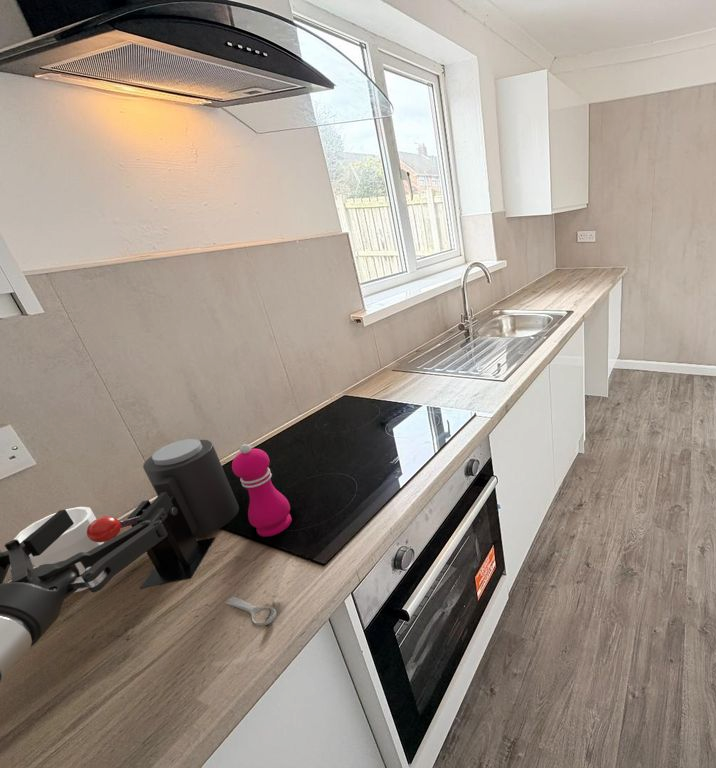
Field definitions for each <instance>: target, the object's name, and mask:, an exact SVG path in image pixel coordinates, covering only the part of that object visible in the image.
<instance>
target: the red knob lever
mask: <svg viewBox="0 0 716 768" xmlns="http://www.w3.org/2000/svg"><path fill="white" fill-rule="evenodd" d="M144 511H145V510H143V511H142V512H143V513H144ZM139 517H140V516H137V517H133V518H130V519H127V518H126V519H123V520H119V519H118V518H117V517H114V516H110V515H109V516H101V517H98V518H96V520H94V521H93V522H92V523H91V524H90V525H89V526H88V528H87V536H88V538H89V539H90V540H92V541H94V542H104V543H105V542H107V541H108V540H110V539H112V538H114V537H116V536H117V535H119V534H120V531H121V529H124V528H127V527H130V526H131V525H134V524H137V522H136V520H137V519H138V518H139Z"/></svg>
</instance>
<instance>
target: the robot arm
mask: <svg viewBox="0 0 716 768" xmlns="http://www.w3.org/2000/svg"><path fill="white" fill-rule="evenodd" d="M172 507H173V504H172V502H171V500H170V498H169V496H168V494H167V492H163V493H161V494H160V495H159V496H157V497H156V498H155V499H154V500H153V501H152V502H151V505H150V506H149V507H148V508H147V509H146V510H145V511H144V513H143V514H142V515H141V516H140V517H139V518H138V519H137V520H136V522H137V525H136V526H134V527H132V526H131V527H130V528H128V529H127V530H124V531H123V532H121V533H118V535H117V536H116V537H114V538H112V539H110V540H108V541H106V542H104V543H103V544H101V545H99V546H98V547H96V548H94V549H92V550H90V551H88V552H86V553H85V552H80V553H78V554H76V555H74V556H72V557H70V558H69V559H67V560H65V561H60V562H57V563H54V564H44V565H40V566H39V567H35V568H34V565H33V564H32V562H31V559H30V557H29V555H30V554H32V556H33V557H34V556H39V555H41V554H42V553H43V552H44V551H45V550H46V549H47V548H48V547H49V546H50V545H51V544H52V543H53V542H55V541H56V540H57V539H58V538H59V537H60V536H61V535H62V534H63V533H64V532H65V531H66V530H68V529H69V528H70V527H71V526H72V525H73V524H74V523H73V521H72V519H71V518H70V516H69V515H68V513H67V511H66V509H61V510H58V511H57V512H55V513H56V514H55V515H54V516H52V517H51V518H50V519H49V520H48V521H46V522H45V523H44V524H43V525H42V526H41V527H39V528H38V529H37V530H36V531H35V532H33V533H32V534H30V535H29V536H28V537H27V538H26V539H25V540H23V541H22V542H21V543H19V541H18V540H14V539H11V540H10V541H8V542H6V543H5V544H4V547H5V549H6V550H4V551H1V550H0V683H1V682H3V680H4V679H5V677H7V676H8V675H9V674H10V672H11V671H12V670H13V669H14V668H15V666H17V664H19V663H20V661H21V660H22V658H23V657H25V655H26V654H27V653H28V652H29V650H30V649H31V647H33V646H34V645H35V644H36V643H37V642H38V641H39V640H40V639H41V637H43V636H44V634H45V633H46V632H47V631H48V630H49V629H50V627H52V625H53V624H54V623H55V621H57V619H58V618H59V616H60V614H61V610H62V607H63V604H64V601H65V600H66V599H67V598H68V597H70V596H71V595H73V594H75V593H76V592H75V591H76V590H77V589H80V588H87V587H88V588H87V589H88V590H89V591H90V592H91V593H96V592H99V591H101V590H102V589H103V588H104V587H105V586H106V585H107V584H108V583H109V582H110V581H111V580H112V578H113V577H116V575H118V574H119V573H120V572H121V571H123V570H124V569H125V568H127V567H128V566H130V565H131V564H132V563H133V562H135V561H136V560H138V559H139V558H140V557H141V556H143V555H144V554H145V553H147V551H148V550H149V549H151V548H152V547H153V546H155V545H156V544H157V543H159V542H160V541H161V540H163V539H164V538H165V537H167V535H168V534H167V532H166V530H165V528H164V526H163V524H162V522H163V521H164V520H165V519H166V517H167V513H168V512H169V510H170V509H171V508H172ZM78 562H81V564H82V565H83V567H84V568H85V572H84V573H83V574H81V575H80V574H79V570H78V568H77V567H76V565H75V564H76V563H78ZM9 569H10V574H11V581H9V582H5V583H4V581H5V578H6V577H7V574H8V572H9ZM74 592H75V593H74Z"/></svg>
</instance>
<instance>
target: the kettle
mask: <svg viewBox="0 0 716 768" xmlns="http://www.w3.org/2000/svg"><path fill="white" fill-rule="evenodd" d="M142 468H143V471H144V472H145V474H146V476H147V478H148V480H149V482H150V484H151V486H152V488H153V490H154V491H155V494H156V496H157V497H158V496H159V495H160V494H161V493H163V492H167V494H168V496H169V497H170V496H175V498H176V500H177V502H178V504H179V506H180V509H181V511H182V513H183V515H184V517H185V519H186V521H187V523H188V525H189V527H190V529H191V531H192V533H193V535H194V537H195V539H197V538H200V537H203V536H206V535H209V534H212V533H214V532H216V531H218V530H220V529H222V528H223V527H225V526H226V525H228V524H229V523H230V522H231V521H232V520H234V518H235V517H236V516H237V515H238V513H239V511H240V506H239V503H238V501H237V499H236V496H235V494H234V491H233V489H232V487H231V484H230V482H229V480H228V477H227V475H226V472H225V470H224V468H223V465H222V462H221V461H220V458H219V455H218V454H217V451H216V449H215V446H214V444H213V442H212V441H211V440H208V439H197V438H187V439H181V440H178V441H174V442H172V443H168V444H166V445H165V446H162V447H160V448H159V449H158V450H155V452H154V453H153V454H152V455H151V456H150V457H148V458H147V459H146V460H145V461H144V463H143V464H142Z"/></svg>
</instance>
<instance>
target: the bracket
mask: <svg viewBox="0 0 716 768" xmlns="http://www.w3.org/2000/svg"><path fill="white" fill-rule="evenodd" d="M169 498H170V500H171V502H172V504H173V507H172V508H171V509H170V510H169V512H168V513H167V517H166V519H165V520H164V521H163V522H162V524H163V526H164V528H165V530H166V532H167V534H168V535H167V537H165V538H164V539H163V540H161V541H160V542H159V543H157V544H156V545H155V546H153V547H152V548H151V549H149V550H148V551H147V552H146V554H147V556H148V558H149V560H150V561H151V563H152V564H153V567H154V568H153V569H152V570H151V571H150V573H149V575H148V576H147V577H146V578H145V580H144V582H143V583H142V584H141V586H140V587H139V588H138V589H139V590H141V589H146V588H152V587H155V586H161V585H165V584H171V583H175V582H180V581H185V580H189V579H192V578H193V576H194V574H195V573H196V572H197V570H198V568H199V567H200V565H201V563H202V562H203V560H204V558H205V556H206V555H207V553H208V551H209V549H210V548H211V546H212V545H213V543H214V542H215V539H216V538H217V537H216V536H215V537H209V538H204V539H199V540H197V538H195V537H194V535H193V533H192V531H191V529H190V527H189V525H188V523H187V521H186V519H185V517H184V515H183V513H182V511H181V509H180V506H179V504H178V502H177V500H176V498H175V496H170V497H169ZM151 504H152V502H150V500H149V499H147V500H143V501H141V502H140V504H138V506H137V507H136V508H135V509H134V510H133V511H132V512H131V513H130V514H129V515H128V516H127V517H126V519H130V518H133V517H137V516H141V515H142V514H143V512H142V511H143V510H146V509H147V508H148V507H149V506H150V505H151ZM136 525H137V524H134V525H130V526H131V528H132V527H134V526H136Z"/></svg>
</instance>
